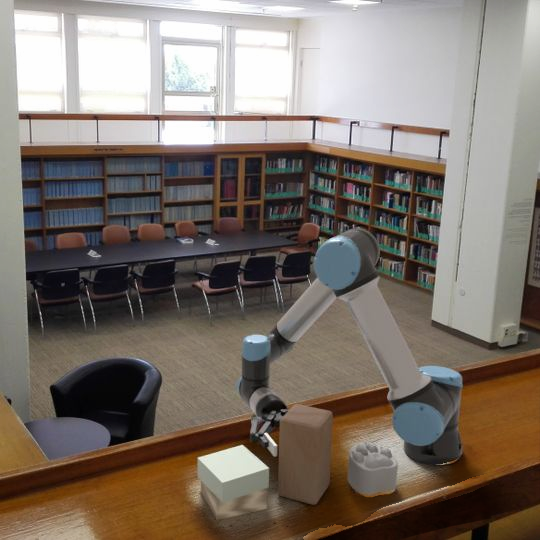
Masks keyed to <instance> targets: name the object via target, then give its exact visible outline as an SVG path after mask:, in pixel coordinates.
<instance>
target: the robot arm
mask: <svg viewBox="0 0 540 540" xmlns="http://www.w3.org/2000/svg"><path fill="white" fill-rule="evenodd" d="M380 254H381V250H380V243H379V241H378V240H377V238H376V237H375V236H374V235H373V234H372V233H371V232H370V231H368V230H366V229H363V228H350V229H348V230H346V231H343V232H341V233H340V234H338V235H336V236H333V237H331V238H329V239H328V240H326V241H325V242H323V243H322V244H321V246H319V247H318V249H317V250H316V253H315V256H314V260H313V267H314V268H313V269H314V273H315V275H316V278H315V279H314V281H313V282H312V283H311V284H310V285H309V287H307V289H306V290H305V291H304V292H303V293H302V294H301V295H300V297H299V298H298V299H297V300H296V301H295V302H294V303H293V305H292V306H291V307H290V308H289V309H288V310H287V312H285V313H284V315H283V316H282V317H281V318H280V319H279V320H278V322H277V323H276V324H275V325H274V326H273V328H272V329H270V331H269V332H268V333H267V334H265V335H262V334H251V335H246V337H244V338H243V340H242V345H241V346H242V347H241V376H240V378H239V379H238V380H237V383H236V390H237V393H238V394H239V395H240V398H241V400H243V402H245V404H246V405H247V406H248V407H249V408H250V409H251V411H253V413H254V414H251V419H250V420H251V421H250V424H251V428H250V431H249V434H250V435H249V442H250V444H255V443H256V442H257V445H258V446H260V447H263V448H264V449H265V448H267V450H268V451H269V452H270V454H271V455H272V456H273V457H278V444H277V443H276V442H275V440H274V439H272V437H271V436H270V435H269V434H270V433H271V432H272V431H273V430H274V429H275V428H277V429H278V428H279V429H280V420H281V419H282V417H283V416H284V415H285V414H286V413H287V412H288V411H289V410H290V409H289V408H288V407H287V405H286V403H285V402H284V401H283V400H282V399H281V398H280V397H279V395H278V394H276V393H275V392H274V390H273V389H272V388H271V387H270V377H271V375H270V374H271V370H270V367H271V365H272V364H274V363H275V362H277V360H279V359H280V358H282V357H283V356H284V355H286V354H289V352H290V351H291V350H293V348H294V347H295V345H296V343H297V341H299V340H300V338H302V336H303V335H304V334H305V333H306V332H307V330H309V328H311V326H312V325H314V323H315V322H316V321H317V320H318V319H319V318H320V317H321V316H322V314H324V312H326V310H327V309H328V308H329V307H330V306H331V305H332V304H333V302H334V301H335V300H336V299H339V300H342V301H344V303H345V304H346V305H347V307H348V309H349V311H350V314H351V316H352V317H353V319H354V321H355V323H356V325H357V327H358V329H359V331H360V333H361V336H362V337H363V339H364V341H365V343H366V346H368V349H369V351H370V353H371V355H372V356H373V359H374V361H375V363H376V366H377V367H378V368H379V371H380V373H381V375H382V376H383V378H384V380H385V382H386V384H387V387H388V389H389V390H388V393H387V396H386V398H387V401H388V403H389V404H390V406H391V408H392V410H393V413H392V419H391V420H392V421H391V422H392V428H393V430H394V432H395V433H396V435H397V436H398V437H399V438H400V439H401V440H402V441H403V451H404V453H405V454H406V455H407V456H408V457H409V458H411V459H413V460H414V461H416V462H418V463H421V464H424V465H429V466H437V465H436V464H443V463H447V462H451V461H454V460H456V459H458V458H460V457H461V455H462V456H463V443H462V440H461V435H460V431H459V427H458V426H459V418H460V411H461V410H460V407H461V399H462V398H461V397H462V392H463V391H462V389H463V387H464V385H463V376H462V375H461V373H460V372H458V371H456V370H454V369H451V368H448V367H444V366H438V365H426V366H425V365H424V366H421V367H419V365H418V363H417V361H416V360H415V358H414V356H413V354H412V351H411V349H410V348H409V346H408V344H407V342H406V339H405V338H404V336H403V334H402V333H401V330H400V329H399V327H398V324H397V322H396V320H395V318H394V316H393V315H392V312H391V309H389V306H388V305H387V302H386V301H385V299H384V296H383V294H382V292H381V290H380V288H379V286H378V283H379V280H380V275H379V273H378V270H377V269H376V267H375V266H376V265H377V263H378V261H379V259H380ZM261 424H263V425H262V426H261V428H260V429H259V426H260V425H261ZM258 429H259V431H258ZM461 458H462V457H461ZM430 464H431V465H430Z"/></svg>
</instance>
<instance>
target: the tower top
mask: <svg viewBox="0 0 540 540" xmlns="http://www.w3.org/2000/svg"><path fill="white" fill-rule="evenodd" d="M197 477H198V479H199V480H200V482H201V481H202V482H203V483H204V484H205V485H206V486H207V487H208V488H209V489H210V490H211V492H212V493H213V494H214V495H215V496H216V497H217V498H218V499H219V500H220V501H221V502H222V503H223V502H226V501H229V500H232V499H235V498H238V497H241V496H244V495H247V494H251V493H254V492H257V491H260V490H263V489H268V488H269V487H270V486H269V485H270V483H269V480H270V467H268V466H267V464H265V463H264V462H263V461H262V460H260V458H258V457H257V456H256V455H255V454H254V453H252V452H251V450H249V449H248V448H247V447H246V446H244V445H243V444H240V445H237V446H233V447H229V448H227V449H226V448H225V449H222V450H219V451H217V452H213V453H212V452H211V453H209V454H205V455H201V456H198V457H197Z"/></svg>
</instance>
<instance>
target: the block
mask: <svg viewBox="0 0 540 540" xmlns="http://www.w3.org/2000/svg"><path fill="white" fill-rule="evenodd" d="M288 410H289V411H288V412H287V413H286V414H285V415H284V416H283V417H282V419H281V420H280V427H279V438H278V470H277V471H278V472H277V473H278V477H277V494H278V496H279V497H283V498H287V499H290V500H293V501H298V502H302V503H303V504H304V503H305V504H308V505H313V506H314V505H317V504H318V502H319V501H320V499H321V498H322V496H323V494H324V493H325V492H326V490H327V489H328V487H329V486H330V480H331V479H330V478H331V477H330V476H331V463H332V461H331V459H332V458H331V457H332V456H331V455H332V442H333V440H332V438H333V419H334V416H333V415H334V414H333V412H332V411H331V410H327V409H323V408H318V407H314V406H308V405H303V404H300V403H298V404H297V403H296V404H294V405H293V406H291V408H290V409H288Z"/></svg>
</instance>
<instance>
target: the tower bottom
mask: <svg viewBox="0 0 540 540" xmlns="http://www.w3.org/2000/svg"><path fill="white" fill-rule="evenodd" d="M200 493H201V494H202V496H203V498H204V499H205V502H206V503H207V505H208V506H209V508H210V510H211V512H212V514H213V516H214V518H215V520H216V521H218V520H223V519H227V518H232V517H238V516H242V515H246V514H250V513H253V512H257V511H263V510H267V509H268V488H266V489H263V490H260V491H257V492H254V493H251V494H247V495H244V496H241V497H238V498H235V499H232V500H229V501H226V502H223V503H222V502H221V501H220V500H219V499H218V498H217V497H216V496H215V495H214V494H213V493H212V492H211V490H210V489H209V488H208V487H207V486H206V485H205V484H204V483H203V482H202V481H201V480H200Z"/></svg>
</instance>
